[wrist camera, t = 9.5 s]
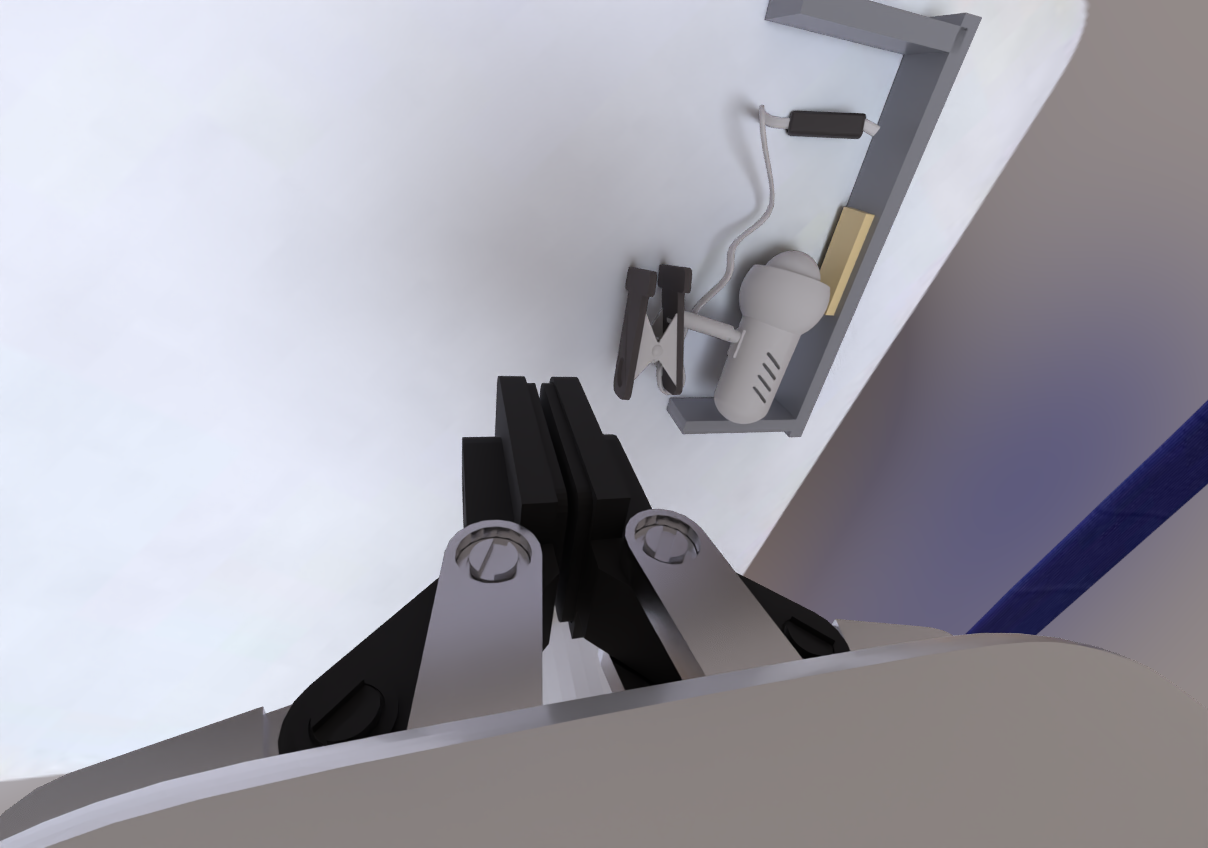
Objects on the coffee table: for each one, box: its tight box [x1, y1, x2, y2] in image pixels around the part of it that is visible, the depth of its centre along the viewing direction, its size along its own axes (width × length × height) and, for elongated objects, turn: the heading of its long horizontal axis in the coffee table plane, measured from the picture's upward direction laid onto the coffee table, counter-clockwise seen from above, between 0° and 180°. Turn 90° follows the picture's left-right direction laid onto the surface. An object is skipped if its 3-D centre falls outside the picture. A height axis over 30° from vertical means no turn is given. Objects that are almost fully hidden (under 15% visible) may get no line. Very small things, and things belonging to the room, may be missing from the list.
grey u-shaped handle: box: [667, 0, 982, 437], centre depth 30 cm, size 24×10×3 cm, turn 171°
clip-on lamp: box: [614, 105, 880, 424], centre depth 28 cm, size 12×6×18 cm
